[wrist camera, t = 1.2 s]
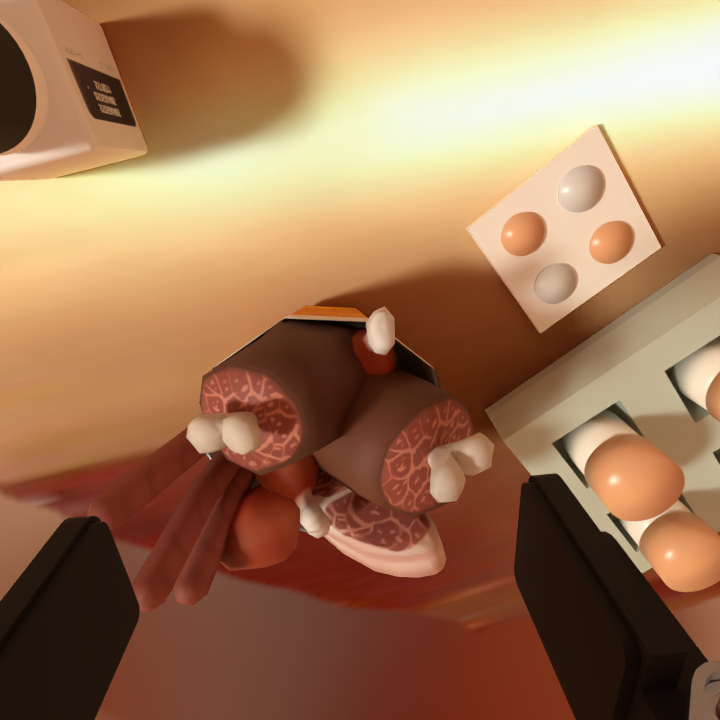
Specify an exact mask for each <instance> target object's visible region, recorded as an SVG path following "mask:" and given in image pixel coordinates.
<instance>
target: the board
mask: <svg viewBox="0 0 720 720" xmlns="http://www.w3.org/2000/svg"><path fill="white" fill-rule="evenodd" d="M717 337H720V255H718V254H713V253H711V254H710V255H708V256H707V257H706V258H704V259H703V260H701V261H700V262H698V263H697V264H695V265H694V266H693V267H691V268H690V269H688V270H687V271H685V272H684V273H682V274H681V275H679V276H678V277H677V278H675V279H674V280H672V281H671V282H669V283H668V284H666V285H665V286H664V287H662V288H661V289H659V290H658V291H656V292H655V293H653V294H652V295H650V296H649V297H648V298H646V299H645V300H643V301H642V302H640V303H639V304H637V305H636V306H634V307H633V308H632V309H630V310H629V311H627V312H626V313H624V314H623V315H621V316H620V317H619V318H617V319H616V320H614V321H613V322H611V323H610V324H608V325H607V326H605V327H604V328H603V329H601V330H600V331H598V332H597V333H595V334H594V335H592V336H591V337H590V338H588V339H587V340H585V341H584V342H582V343H581V344H579V345H578V346H576V347H575V348H574V349H572V350H571V351H569V352H568V353H566V354H565V355H563V356H562V357H561V358H559V359H558V360H556V361H555V362H553V363H552V364H550V365H549V366H547V367H546V368H545V369H543V370H542V371H540V372H539V373H537V374H536V375H534V376H533V377H532V378H530V379H529V380H527V381H526V382H524V383H523V384H521V385H520V386H518V387H517V388H516V389H514V390H513V391H511V392H510V393H508V394H507V395H505V396H504V397H503V398H501V399H500V400H498V401H497V402H495V403H494V404H492V405H491V406H489V407H488V408H487V409H485V412H486V414H487V415H488V417H489V419H490V420H491V422H492V423H493V425H494V427H495V428H496V430H497V432H498V433H499V435H500V437H501V438H502V440H503V441H504V443H505V444H506V445H507V446H508V447H509V449H510V450H511V451H512V452H513V453H514V455H515V456H516V457H517V458H518V459H519V461H520V462H521V463H522V464H523V465H524V467H525V468H526V469H527V470H528V471H529V473H530V474H531V475H542V474H553V473H556V474H559V475H560V477H561V478H562V479H563V480H564V482H565V483H566V484H567V486H568V487H569V489H570V490H571V491H572V493H573V494H574V495H575V497H576V498H577V499H578V501H579V502H580V504H581V505H582V506H583V508H584V509H585V510H586V512H587V513H588V515H589V516H590V517H591V519H592V520H593V521H594V523H595V524H596V525H597V527H598V528H599V530H600V531H606V532H608V533H610V534H611V535H612V536H613V537H614V538H615V539H616V540H617V541H618V543H619V544H620V545H621V547H622V548H623V549H624V551H625V552H626V553H627V555H628V556H629V557H630V559H631V560H632V561H633V563H634V564H635V565H636V567H637V568H638V569H639V571H640V572H641V573H643V572H645V571H647V570H649V569H650V568H652V566H651V565H650V564H649V562H648V561H647V560H646V558H645V557H644V556H643V555H642V553H641V552H640V549H639V546H638V545H637V543H636V542H635V541H634V540H633V538H632V537H631V536H630V535H629V533H628V532H627V531H626V530H625V528H624V527H623V526H622V525H621V523H620V522H619V521H618V520H617V518H616V517H615V516H614V515H613V514H612V513H611V512H610V511H609V510H608V509H607V507H606V506H605V505H604V504H603V502H602V501H601V500H600V498H599V497H598V496H597V495H596V493H595V492H594V491H593V490H592V488H591V487H590V486H589V485H588V483H587V482H586V479H585V476H584V474H583V473H582V472H581V471H580V469H579V468H578V467H577V466H576V464H575V463H574V462H573V461H572V459H571V458H570V457H569V456H568V454H567V453H566V452H565V450H564V447H563V436H564V435H566V434H567V433H569V432H571V431H572V430H574V429H575V428H577V427H578V426H580V425H581V424H583V423H585V422H586V421H588V420H589V419H591V418H592V417H594V416H595V415H597V414H598V413H600V412H602V411H603V410H606V411H610V412H612V413H614V414H616V415H617V416H618V417H619V418H620V419H621V420H623V421H624V422H625V423H626V424H627V425H628V426H629V427H631V428H632V429H633V430H634V431H635V432H636V433H637V434H638V435H640V436H642V437H645V438H647V439H648V440H649V441H651V442H652V443H653V444H654V445H655V446H656V447H657V448H659V449H660V450H661V451H662V452H663V453H664V454H665V455H667V456H668V457H669V458H670V459H671V460H672V461H674V462H675V463H676V464H677V465H678V466H679V467H680V468H681V469H682V471H683V473H684V477H685V485H684V489H683V491H682V494H681V495H680V497H679V498H678V500H679V501H680V502H681V503H683V504H684V505H685V506H686V507H687V508H688V509H689V510H690V511H691V512H692V513H693V514H696V515H698V516H699V517H700V518H702V519H703V520H704V521H705V522H706V523H707V524H708V525H709V526H710V527H711V528H712V529H713V530H714V531H715V532H716V533H717V532H719V531H720V464H719V463H718V461H717V459H716V450H718V449H720V422H719V421H718V420H716V419H715V418H713V417H712V416H711V415H710V414H709V412H708V411H707V410H706V409H704V408H703V407H701V406H700V405H698V404H697V403H695V402H694V401H692V400H691V399H689V398H688V397H686V396H684V395H683V394H681V393H680V392H678V391H677V390H676V389H675V388H674V387H673V385H672V383H671V378H670V372H671V368H672V366H673V365H675V364H676V363H678V362H679V361H681V360H682V359H684V358H686V357H687V356H689V355H690V354H692V353H693V352H695V351H696V350H698V349H700V348H701V347H703V346H704V345H706V344H707V343H709V342H710V341H712V340H714V339H715V338H717Z"/></svg>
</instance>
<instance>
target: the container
mask: <svg viewBox="0 0 720 720" xmlns="http://www.w3.org/2000/svg"><path fill="white" fill-rule="evenodd" d="M147 152H148V148H147V145H146V143H145V140H144V137H143V135H142V132H141V129H140V127H139V124H138V121H137V119H136V116H135V114H134V111H133V108H132V106H131V103H130V100H129V98H128V95H127V92H126V90H125V87H124V85H123V82H122V79H121V77H120V74H119V71H118V69H117V66H116V63H115V61H114V58H113V55H112V53H111V50H110V48H109V45H108V42H107V40H106V37H105V34H104V32H103V29H102V27H101V26H100V24H99V23H97V22H95V21H94V20H92V19H91V18H89V17H87V16H86V15H84V14H82V13H81V12H79V11H77V10H76V9H74V8H73V7H71V6H69V5H68V4H66V3H64V2H63V1H61V0H0V181H9V180H38V179H52V178H56V177H60V176H64V175H68V174H72V173H76V172H80V171H84V170H88V169H92V168H96V167H100V166H104V165H107V164H111V163H115V162H119V161H123V160H127V159H131V158H135V157H139V156H143V155H145V154H147Z"/></svg>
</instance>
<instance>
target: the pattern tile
mask: <svg viewBox="0 0 720 720" xmlns="http://www.w3.org/2000/svg"><path fill="white" fill-rule="evenodd" d="M466 230H467V231H468V232H469V234H470V235H471V237H472V238H473V240H474V241H475V242H476V244H477V245H478V247H479V248H480V250H481V251H482V252H483V254H484V255H485V257H486V258H487V260H488V261H489V262H490V264H491V265H492V267H493V268H494V270H495V271H496V272H497V274H498V275H499V277H500V278H501V280H502V281H503V282H504V284H505V285H506V287H507V288H508V290H509V291H510V292H511V294H512V295H513V297H514V298H515V300H516V301H517V302H518V304H519V305H520V307H521V308H522V310H523V311H524V312H525V314H526V315H527V317H528V318H529V320H530V321H531V322H532V324H533V325H534V327H535V328H536V330H537V331H538V332H539V333H540V334H541V333H542V332H543V331H545V330H546V329H548V328H549V327H550V326H552V325H553V324H555V323H556V322H557V321H559V320H560V319H562V318H563V317H564V316H566V315H567V314H569V313H570V312H571V311H573V310H574V309H576V308H577V307H578V306H580V305H581V304H583V303H584V302H586V301H587V300H588V299H590V298H591V297H593V296H594V295H595V294H597V293H598V292H600V291H601V290H602V289H604V288H605V287H607V286H608V285H609V284H611V283H612V282H614V281H615V280H616V279H618V278H619V277H621V276H622V275H623V274H625V273H626V272H628V271H629V270H631V269H632V268H633V267H635V266H636V265H638V264H639V263H640V262H642V261H643V260H645V259H646V258H647V257H649V256H650V255H652V254H653V253H654V252H656V251H657V250H659V249H660V248H661V246H660V244H659V242H658V240H657V238H656V236H655V234H654V232H653V230H652V229H651V227H650V225H649V223H648V221H647V219H646V217H645V215H644V213H643V211H642V209H641V207H640V206H639V204H638V202H637V200H636V198H635V196H634V194H633V192H632V190H631V188H630V186H629V185H628V183H627V181H626V179H625V177H624V175H623V173H622V171H621V169H620V167H619V165H618V164H617V162H616V160H615V158H614V156H613V154H612V152H611V150H610V148H609V146H608V144H607V142H606V141H605V139H604V137H603V135H602V133H601V131H600V129H599V127H598V125H593V126H591V127H590V128H589V129H588V130H586V131H585V132H584V133H583V134H581V135H580V136H579V137H578V138H577V139H575V140H574V141H573V142H572V143H570V144H569V145H568V146H567V147H565V148H564V149H563V150H562V151H560V152H559V153H558V154H557V155H555V156H554V157H553V158H552V159H551V160H549V161H548V162H547V163H546V164H544V165H543V166H542V167H541V168H539V169H538V170H537V171H536V172H534V173H533V174H532V175H531V176H529V177H528V178H527V179H526V180H525V181H523V182H522V183H521V184H520V185H518V186H517V187H516V188H515V189H513V190H512V191H511V192H510V193H508V194H507V195H506V196H505V197H503V198H502V199H501V200H500V201H499V202H497V203H496V204H495V205H494V206H492V207H491V208H490V209H489V210H487V211H486V212H485V213H484V214H482V215H481V216H480V217H479V218H477V219H476V220H475V221H474V222H473V223H471V224H470V225H469V226H468V227H466Z"/></svg>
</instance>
